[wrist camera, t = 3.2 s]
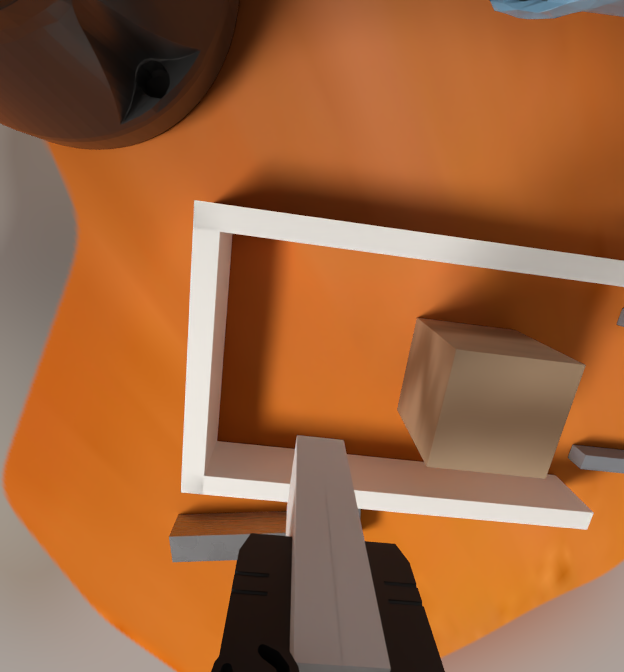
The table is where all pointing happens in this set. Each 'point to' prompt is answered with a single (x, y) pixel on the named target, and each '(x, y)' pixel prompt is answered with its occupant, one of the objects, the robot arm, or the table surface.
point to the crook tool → (221, 533)
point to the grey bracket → (599, 450)
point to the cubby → (366, 472)
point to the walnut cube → (486, 398)
